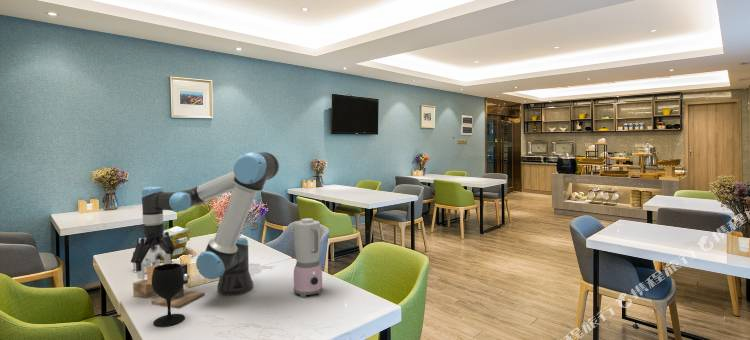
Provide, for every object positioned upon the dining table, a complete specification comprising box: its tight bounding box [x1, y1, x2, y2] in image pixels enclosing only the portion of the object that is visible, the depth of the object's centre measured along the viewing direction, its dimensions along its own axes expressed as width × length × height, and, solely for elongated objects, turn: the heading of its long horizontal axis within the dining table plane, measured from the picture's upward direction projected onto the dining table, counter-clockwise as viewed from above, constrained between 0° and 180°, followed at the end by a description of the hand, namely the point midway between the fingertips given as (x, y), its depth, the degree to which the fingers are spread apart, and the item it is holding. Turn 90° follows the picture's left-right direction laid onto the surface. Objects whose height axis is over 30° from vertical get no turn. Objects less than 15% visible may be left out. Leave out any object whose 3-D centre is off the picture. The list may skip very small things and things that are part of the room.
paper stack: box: [160, 225, 197, 263], centre depth 229 cm, size 25×25×17 cm
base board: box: [151, 289, 206, 309], centre depth 164 cm, size 14×14×1 cm
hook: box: [146, 265, 191, 285], centre depth 165 cm, size 19×4×7 cm, turn 73°
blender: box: [293, 217, 323, 298], centre depth 170 cm, size 16×12×32 cm
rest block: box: [132, 278, 157, 299], centre depth 170 cm, size 7×5×6 cm
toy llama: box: [132, 234, 166, 275], centre depth 202 cm, size 8×18×20 cm, turn 63°
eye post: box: [174, 263, 189, 299], centre depth 164 cm, size 2×8×13 cm, turn 163°
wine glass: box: [152, 262, 186, 328], centre depth 144 cm, size 10×10×20 cm
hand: (154, 273), depth 167 cm, fingers open, 13 cm apart
